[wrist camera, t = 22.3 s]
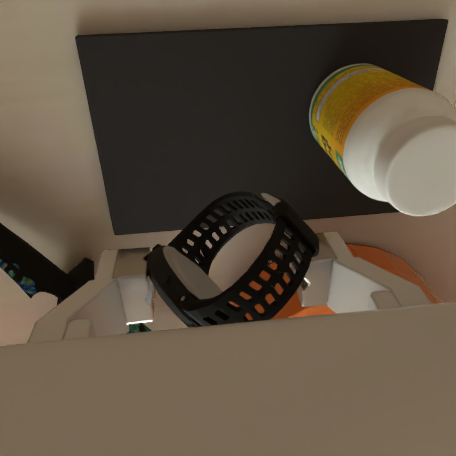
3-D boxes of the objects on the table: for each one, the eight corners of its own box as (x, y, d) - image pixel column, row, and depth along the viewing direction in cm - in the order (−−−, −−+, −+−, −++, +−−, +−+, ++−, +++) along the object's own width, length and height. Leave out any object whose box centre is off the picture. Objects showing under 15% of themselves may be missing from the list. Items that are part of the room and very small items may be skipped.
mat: (115, 230, 28) (114, 235, 28) (77, 35, 22) (74, 36, 22) (402, 207, 30) (407, 211, 29) (442, 18, 24) (448, 19, 23)
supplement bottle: (413, 94, 25) (528, 153, 17) (353, 166, 27) (430, 250, 19) (347, 40, 23) (441, 78, 15) (287, 123, 25) (342, 196, 17)
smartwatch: (138, 199, 15) (123, 294, 10) (281, 149, 14) (327, 226, 10) (181, 287, 17) (184, 395, 12) (307, 245, 16) (354, 342, 12)
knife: (209, 360, 34) (210, 406, 30) (181, 379, 35) (178, 426, 31) (-162, 35, 23) (-242, 38, 19) (-193, 73, 23) (-275, 84, 19)
